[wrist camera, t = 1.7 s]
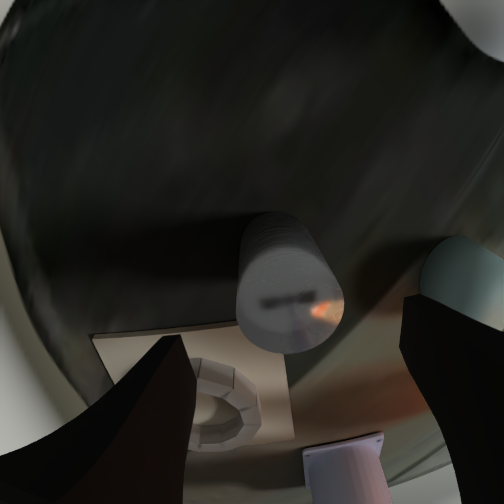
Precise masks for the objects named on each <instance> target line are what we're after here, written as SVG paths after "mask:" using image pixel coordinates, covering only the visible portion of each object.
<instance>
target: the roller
mask: <svg viewBox="0 0 504 504" xmlns="http://www.w3.org/2000/svg"><path fill="white" fill-rule="evenodd" d="M419 286H420V292H421V294H422V295H424V296H427V297H429V298H431V299H434V300H436V301H438V302H440V303H442V304H444V305H446V306H448V307H450V308H452V309H454V310H456V311H458V312H460V313H462V314H464V315H466V316H468V317H470V318H473V319H475V320H477V321H479V322H481V323H483V324H486V325H488V326H490V327H493V328H495V329H497V330H500V331H502V330H503V329H504V260H503V259H501V258H500V257H498V256H496V255H495V254H493V253H492V252H490V251H489V250H487V249H485V248H484V247H482V246H480V245H479V244H477V243H475V242H474V241H472V240H470V239H469V238H467V237H464V236H453V237H450V238H447V239H445V240H444V241H442V242H441V243H439V244H438V245H437V246H436V247H435V248H434V249H433V250H432V252H431V253H430V254H429V256H428V257H427V259H426V261H425V263H424V265H423V268H422V271H421V275H420V284H419Z"/></svg>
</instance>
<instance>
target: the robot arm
mask: <svg viewBox="0 0 504 504" xmlns="http://www.w3.org/2000/svg"><path fill="white" fill-rule="evenodd" d="M399 348H400V351H401V353H402V356H403V358H404V361H405V363H406V365H407V368H408V370H409V372H410V374H411V376H412V377H413V379H414V381H415V383H416V384H417V386H418V388H419V390H420V392H421V393H422V395H423V397H424V399H425V400H426V402H427V404H428V406H429V407H430V409H431V411H432V413H433V415H434V416H435V418H436V420H437V422H438V425H439V427H440V429H441V431H442V434H443V437H444V440H445V442H446V445H447V448H448V451H449V454H450V457H451V460H452V464H453V467H454V470H455V474H456V478H457V483H458V487H459V492H460V496H461V503H462V504H504V332H503V331H500V330H497V329H495V328H493V327H490V326H488V325H486V324H483V323H481V322H479V321H477V320H475V319H473V318H470V317H468V316H466V315H464V314H462V313H460V312H458V311H456V310H454V309H452V308H450V307H448V306H446V305H444V304H442V303H440V302H438V301H436V300H434V299H431V298H429V297H427V296H424V295H422V294H417V295H413V296H409V297H404V304H403V316H402V326H401V335H400V343H399ZM196 395H197V379H196V376H195V373H194V371H193V368H192V365H191V363H190V360H189V357H188V354H187V351H186V349H185V346H184V343H183V340H182V337H181V334H177V335H166V336H162V337H161V338H160V339H159V340H158V341H157V342H156V343H155V344H154V345H153V346H152V347H151V348H150V349H149V350H148V351H147V352H146V353H145V355H144V356H143V357H142V358H141V359H140V360H139V361H138V362H137V363H136V364H135V365H134V366H133V367H132V368H131V369H130V370H129V371H128V372H127V374H126V375H125V376H124V377H122V378H121V379H120V380H119V381H118V382H117V383H116V384H115V385H114V386H113V387H112V388H111V389H110V390H109V391H108V392H107V393H106V394H105V395H103V396H102V397H101V398H100V399H99V400H98V401H97V402H95V403H94V404H93V405H92V406H90V407H89V408H88V409H86V410H85V411H84V412H83V413H81V414H80V415H79V416H77V417H76V418H74V419H73V420H71V421H70V422H68V423H66V424H65V425H63V426H62V427H60V428H59V429H57V430H56V431H54V432H53V433H51V434H49V435H47V436H45V437H43V438H41V439H39V440H37V441H35V442H33V443H31V444H29V445H27V446H25V447H22V448H20V449H17V450H15V451H12V452H9V453H7V454H4V455H1V456H0V504H183V479H184V468H185V461H186V456H187V450H188V445H189V440H190V435H191V430H192V424H193V419H194V414H195V408H196ZM383 440H384V433H383V432H379V433H375V434H372V435H368V436H364V437H360V438H356V439H351V440H347V441H342V442H338V443H333V444H328V445H323V446H317V447H311V448H306V449H304V450H303V451H302V456H303V465H304V475H305V485H306V489H311V493H312V500H313V504H393V502H392V499H391V495H390V492H389V489H388V486H387V482H386V479H385V476H384V473H383V470H382V467H381V464H380V461H379V455H380V451H381V448H382V444H383Z"/></svg>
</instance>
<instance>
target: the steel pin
mask: <svg viewBox="0 0 504 504" xmlns="http://www.w3.org/2000/svg"><path fill="white" fill-rule="evenodd" d="M343 309H344V299H343V294H342V290H341V288H340V286H339V284H338V282H337V280H336V279H335V277H334V275H333V273H332V271H331V270H330V268H329V266H328V264H327V263H326V261H325V259H324V257H323V256H322V254H321V252H320V250H319V249H318V247H317V245H316V243H315V242H314V240H313V238H312V237H311V235H310V233H309V231H308V230H307V228H306V227H305V225H304V224H303V223H302V222H301V221H300V220H299V219H298V218H296V217H295V216H293V215H291V214H288V213H285V212H276V211H275V212H268V213H265V214H262V215H260V216H258V217H256V218H255V219H253V220H252V221H251V222H250V223H249V224H248V225H247V227H246V228H245V230H244V232H243V234H242V237H241V242H240V256H239V271H238V286H237V301H236V317H237V322H238V325H239V327H240V329H241V331H242V333H243V334H244V336H245V337H246V338H247V339H248V340H249V341H250V342H251V343H253V344H254V345H256V346H257V347H259V348H261V349H263V350H266V351H269V352H273V353H278V354H293V353H299V352H303V351H306V350H309V349H311V348H314V347H316V346H317V345H319V344H321V343H322V342H323V341H325V340H326V339H327V338H328V337H329V336H330V335H331V334H332V333H333V332H334V330H335V329H336V328H337V326H338V324H339V322H340V320H341V317H342V314H343Z"/></svg>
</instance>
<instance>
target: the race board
mask: <svg viewBox="0 0 504 504" xmlns="http://www.w3.org/2000/svg"><path fill="white" fill-rule="evenodd" d="M177 334H181V337H182V340H183V343H184V346H185V349H186V351H187V354H188V357H189V360H190V363H191V365H192V368H193V371H194V373H195V376H196V379H197V395H196V408H195V414H194V419H193V424H192V430H191V435H190V440H189V445H188V449H189V450H193V451H197V452H199V451H200V452H217V451H227V450H228V451H229V450H231V449H234V448H236V447H239V446H241V445H251V444H261V443H270V442H278V441H286V440H293V439H295V435H294V428H293V420H292V413H291V406H290V398H289V391H288V384H287V377H286V370H285V363H284V356H283V354H278V353H273V352H269V351H266V350H263V349H261V348H259V347H257V346H256V345H254V344H253V343H251V342H250V341H249V340H248V339H247V338H246V337H245V336H244V334H243V333H242V331H241V329H240V327H239V325H238V322H237V321H230V322H222V323H214V324H206V325H197V326H188V327H179V328H170V329H160V330H149V331H137V332H125V333H112V334H97V335H94V337H93V338H92V341H93V343H94V345H95V347H96V349H97V351H98V353H99V355H100V357H101V359H102V361H103V363H104V365H105V367H106V369H107V371H108V373H109V374H110V376H111V378H112V380H113V382H114V384H116V383H117V382H118V381H119V380H120V379H121V378H122V377H124V376H125V375H126V374H127V372H128V371H129V370H130V369H131V368H132V367H133V366H134V365H135V364H136V363H137V362H138V361H139V360H140V359H141V358H142V357H143V356H144V355H145V353H146V352H147V351H148V350H149V349H150V348H151V347H152V346H153V345H154V344H155V343H156V342H157V341H158V340H159V339H160V338H161V337H162V336H166V335H177Z"/></svg>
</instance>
